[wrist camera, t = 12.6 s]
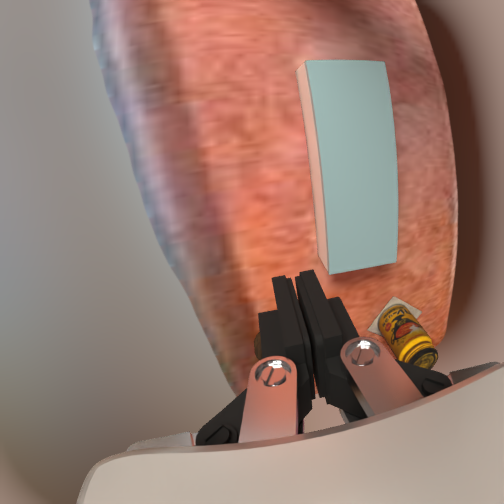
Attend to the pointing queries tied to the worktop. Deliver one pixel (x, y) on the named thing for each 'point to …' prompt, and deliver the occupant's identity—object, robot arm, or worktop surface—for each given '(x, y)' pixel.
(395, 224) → the cover
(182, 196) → the worktop surface
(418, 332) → the condiment
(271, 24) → the worktop surface
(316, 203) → the white open box
